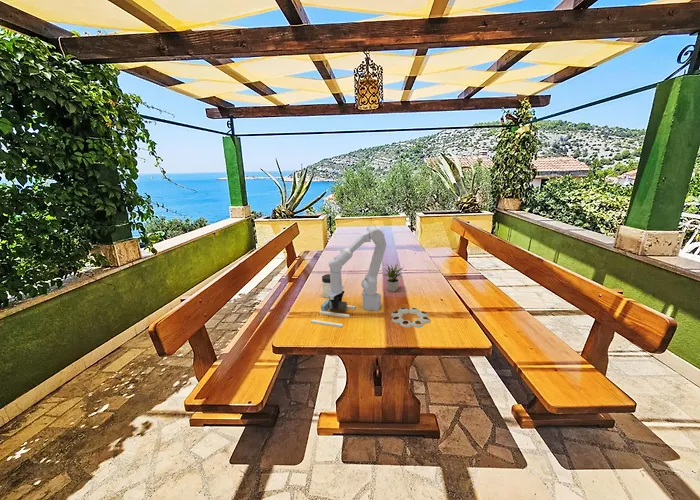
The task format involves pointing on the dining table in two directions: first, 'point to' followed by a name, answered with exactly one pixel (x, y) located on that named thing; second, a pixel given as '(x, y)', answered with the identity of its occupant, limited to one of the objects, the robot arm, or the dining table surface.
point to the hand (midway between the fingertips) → (337, 306)
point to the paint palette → (400, 320)
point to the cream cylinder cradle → (324, 311)
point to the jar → (326, 285)
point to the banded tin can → (341, 305)
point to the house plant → (393, 281)
